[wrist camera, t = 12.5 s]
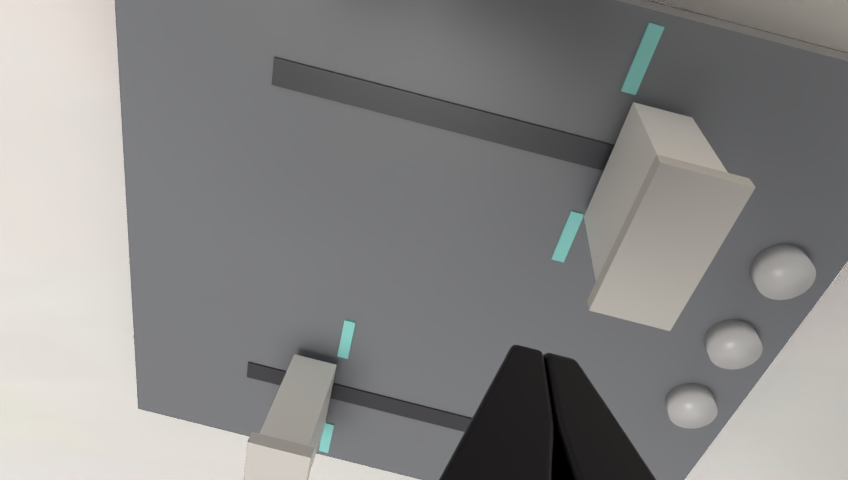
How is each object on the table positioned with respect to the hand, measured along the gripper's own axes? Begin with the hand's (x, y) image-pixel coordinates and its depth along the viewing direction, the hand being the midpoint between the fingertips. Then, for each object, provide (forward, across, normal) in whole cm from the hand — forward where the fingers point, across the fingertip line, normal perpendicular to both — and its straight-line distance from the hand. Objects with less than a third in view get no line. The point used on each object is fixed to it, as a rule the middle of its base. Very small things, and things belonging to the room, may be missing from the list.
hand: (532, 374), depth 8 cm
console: (+12, +1, +7) cm, 14 cm away
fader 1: (+10, +5, +13) cm, 17 cm away
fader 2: (+10, -3, +1) cm, 11 cm away
